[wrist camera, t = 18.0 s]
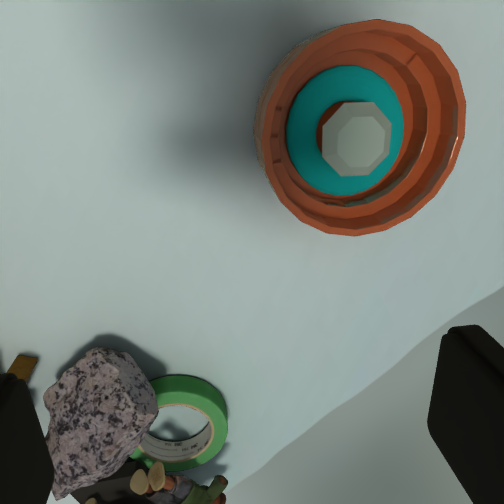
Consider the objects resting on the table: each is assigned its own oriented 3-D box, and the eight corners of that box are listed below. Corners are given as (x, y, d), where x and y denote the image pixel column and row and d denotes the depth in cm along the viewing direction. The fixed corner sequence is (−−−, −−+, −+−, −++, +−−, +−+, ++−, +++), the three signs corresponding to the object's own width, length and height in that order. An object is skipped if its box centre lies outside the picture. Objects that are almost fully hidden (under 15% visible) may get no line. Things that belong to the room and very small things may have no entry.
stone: (181, 418, 38) (135, 330, 42) (115, 440, 32) (70, 336, 37) (112, 490, 42) (77, 405, 47) (43, 521, 37) (11, 420, 41)
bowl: (310, -13, 31) (331, -28, 26) (463, 85, 35) (507, 88, 30) (223, 171, 36) (227, 187, 31) (367, 238, 40) (391, 262, 35)
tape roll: (215, 365, 44) (216, 382, 41) (234, 439, 48) (236, 459, 46) (110, 387, 43) (104, 406, 41) (140, 460, 48) (136, 481, 45)
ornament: (441, 176, 33) (325, 230, 34) (415, 165, 37) (312, 213, 38) (406, 37, 29) (273, 102, 29) (380, 41, 33) (264, 98, 33)
